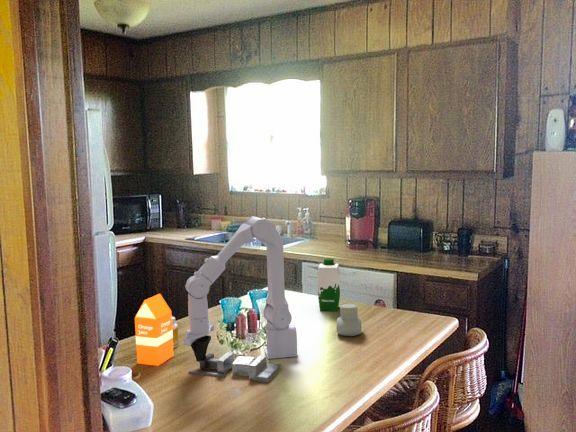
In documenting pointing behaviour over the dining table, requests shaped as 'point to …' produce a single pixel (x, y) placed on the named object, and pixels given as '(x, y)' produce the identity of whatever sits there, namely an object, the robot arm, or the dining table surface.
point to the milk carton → (328, 285)
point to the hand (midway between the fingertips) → (200, 360)
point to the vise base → (254, 370)
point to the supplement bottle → (175, 333)
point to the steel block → (242, 365)
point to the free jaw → (217, 362)
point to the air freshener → (348, 320)
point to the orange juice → (154, 332)
